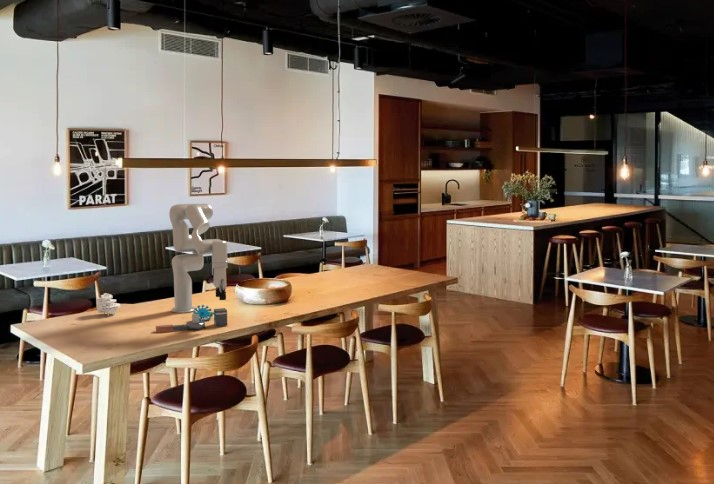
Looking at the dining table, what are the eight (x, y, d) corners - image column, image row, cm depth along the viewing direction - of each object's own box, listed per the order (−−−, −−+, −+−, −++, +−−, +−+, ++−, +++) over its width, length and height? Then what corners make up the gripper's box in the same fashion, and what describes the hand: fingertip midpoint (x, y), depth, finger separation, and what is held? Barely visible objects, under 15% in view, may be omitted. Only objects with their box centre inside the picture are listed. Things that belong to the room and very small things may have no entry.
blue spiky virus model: (193, 319, 335) (193, 303, 341) (191, 325, 339) (191, 309, 345) (215, 320, 339) (214, 304, 345) (212, 326, 343) (212, 310, 349)
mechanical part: (121, 315, 348) (120, 294, 347) (97, 317, 343) (96, 296, 341) (119, 311, 358) (118, 290, 357) (96, 313, 353) (95, 292, 352)
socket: (214, 324, 332) (213, 308, 331) (225, 323, 334) (224, 308, 333) (216, 326, 327) (215, 311, 326) (227, 325, 329) (227, 310, 328)
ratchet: (155, 329, 319) (154, 315, 319) (203, 325, 328) (203, 312, 328) (157, 334, 311) (156, 319, 310) (206, 329, 320) (206, 316, 319)
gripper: (209, 263, 333) (210, 296, 335) (215, 267, 317) (216, 301, 319) (224, 262, 336) (224, 295, 338) (231, 266, 320) (231, 300, 322)
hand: (220, 298), depth 328 cm, fingers open, 9 cm apart
